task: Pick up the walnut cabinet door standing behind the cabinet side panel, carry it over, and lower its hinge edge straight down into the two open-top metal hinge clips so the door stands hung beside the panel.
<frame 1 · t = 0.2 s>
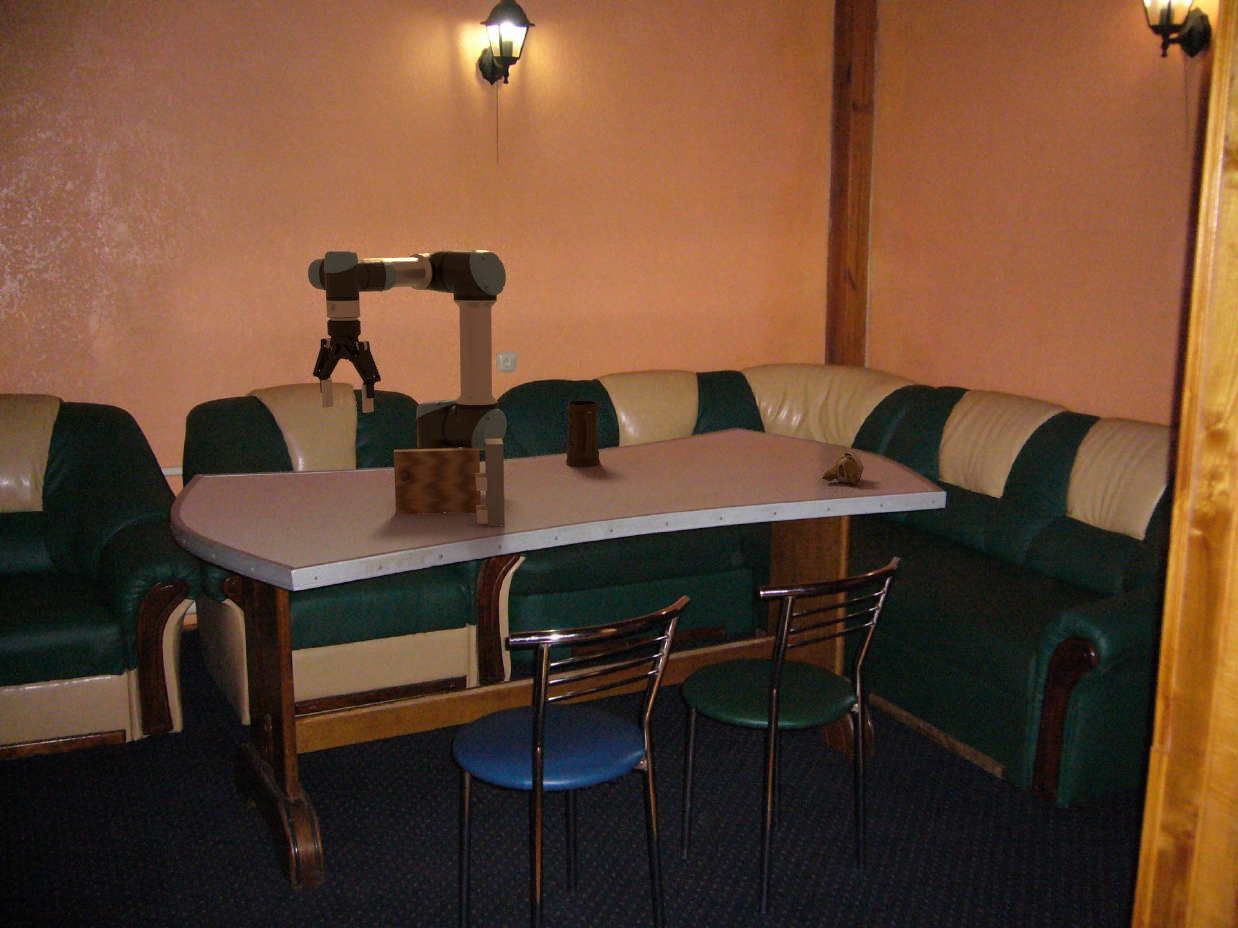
hand: (347, 409, 252), 28 cm above the table, fingers open, 13 cm apart
beer stein: (585, 465, 330), on the table
ceramic sculpture: (845, 482, 309), on the table
door: (438, 512, 270), on the table
cabinet side: (438, 525, 256), on the table
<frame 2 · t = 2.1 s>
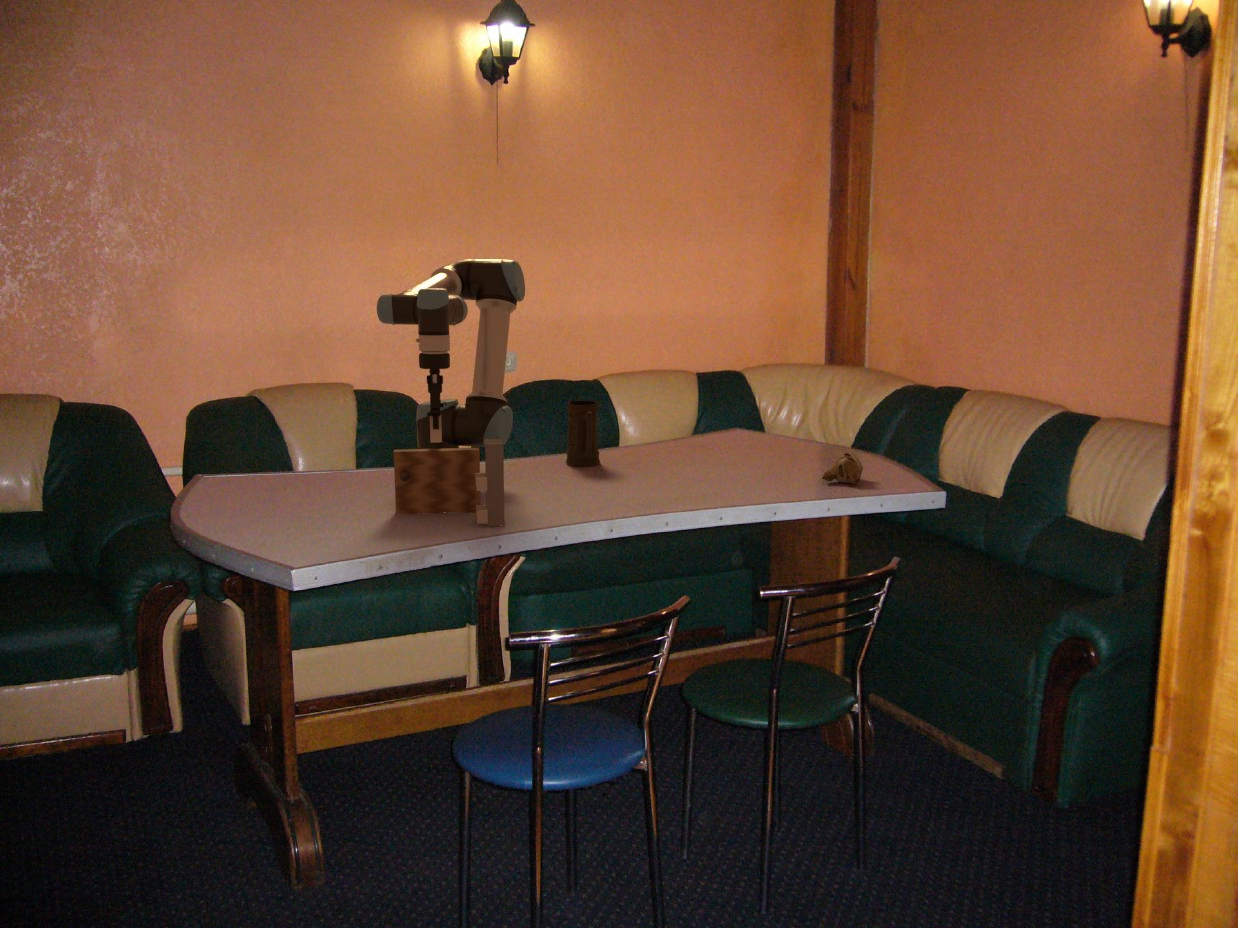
hand: (436, 437, 266), 19 cm above the table, fingers open, 13 cm apart
nothing on the table moved.
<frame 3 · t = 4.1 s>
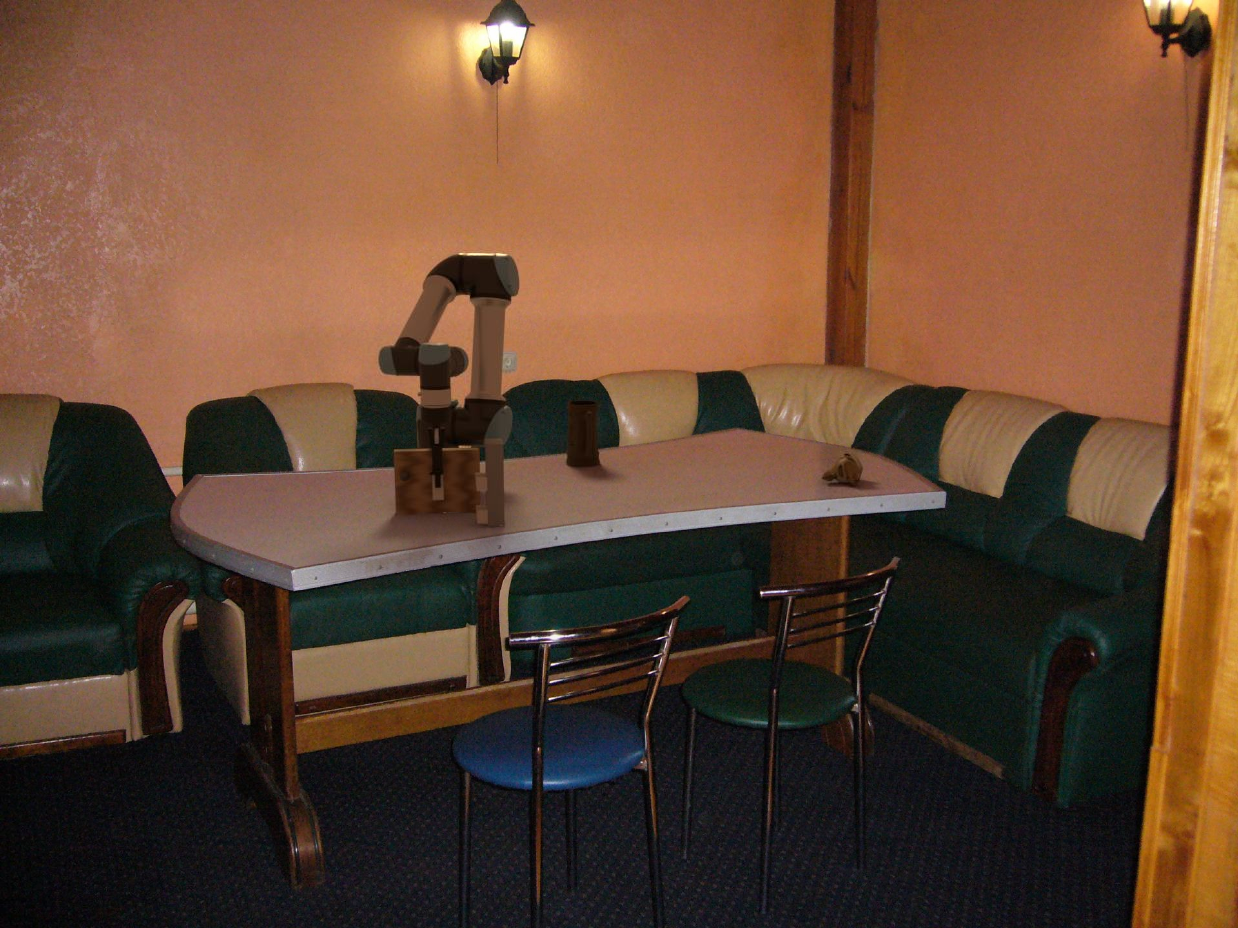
hand: (438, 497, 269), 4 cm above the table, fingers closed on door, 3 cm apart
door: (438, 511, 270), on the table, touching gripper
everything else where it was.
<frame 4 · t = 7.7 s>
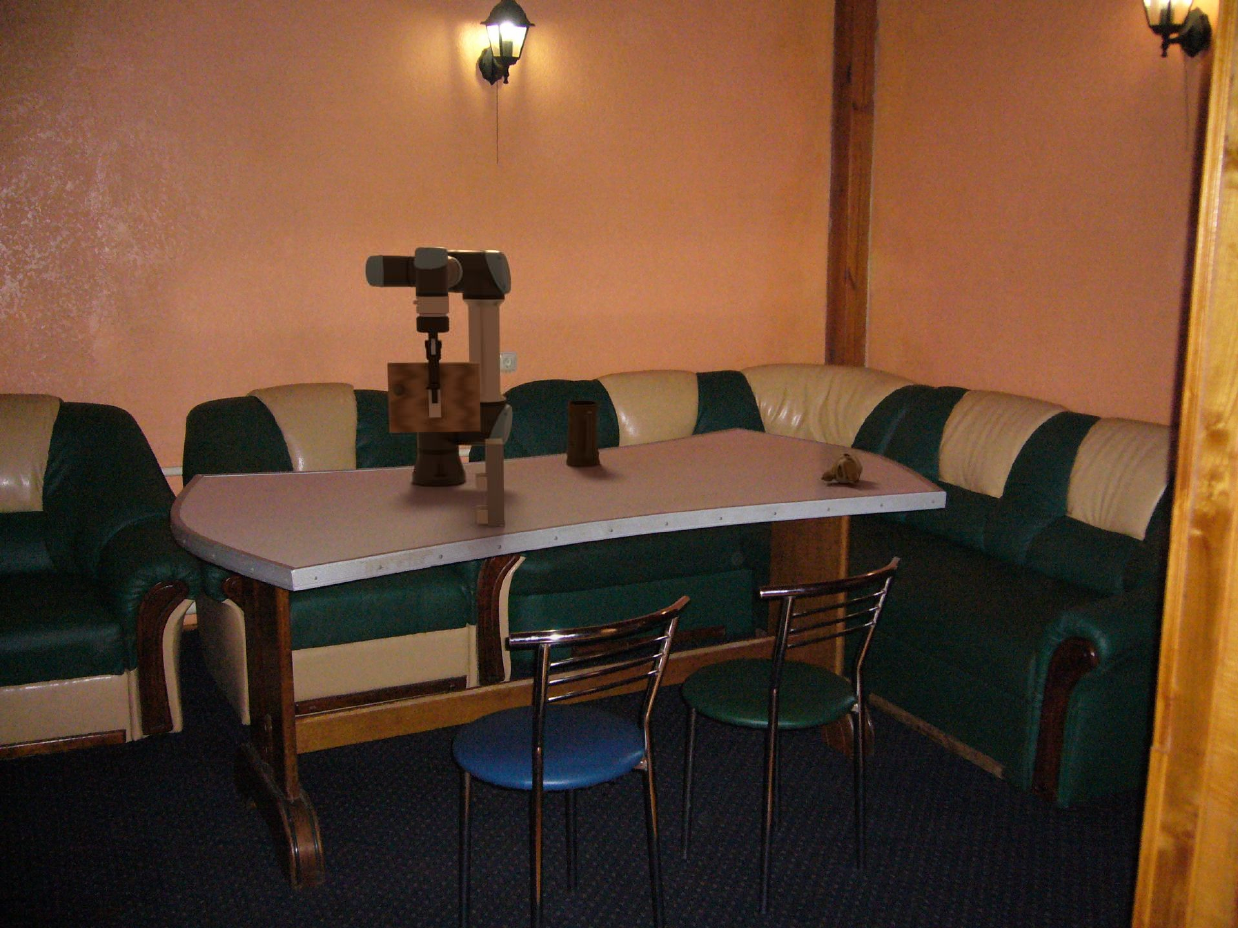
hand: (435, 415, 251), 27 cm above the table, fingers closed on door, 3 cm apart
door: (435, 430, 252), point 23 cm above the table, touching gripper
everything else where it was.
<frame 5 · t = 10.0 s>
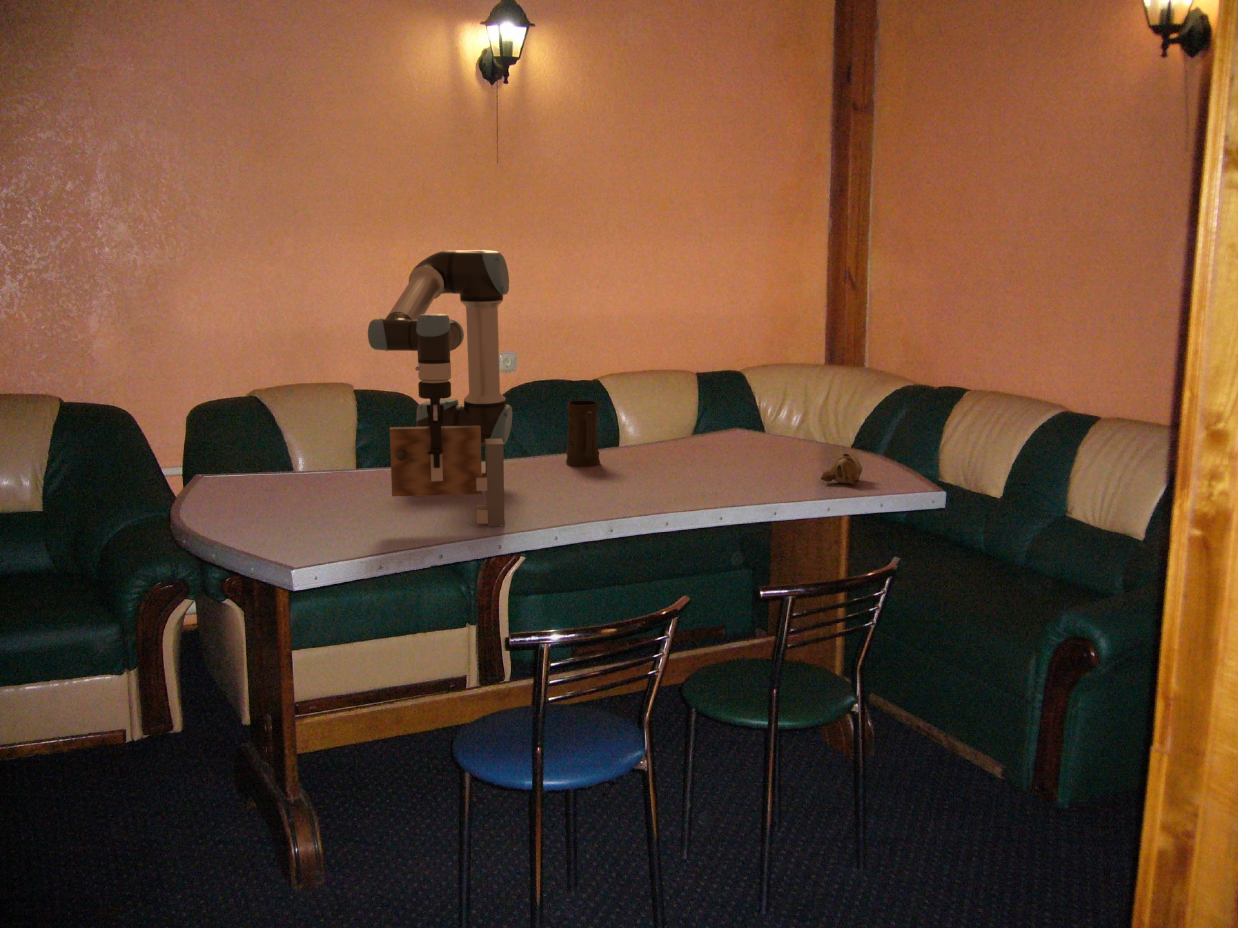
hand: (437, 478, 254), 12 cm above the table, fingers closed on door, 3 cm apart
door: (437, 493, 255), point 8 cm above the table, touching gripper
when the fingers open (5 cm above the table, at t = 11.6 s): door drops 1 cm, on the table.
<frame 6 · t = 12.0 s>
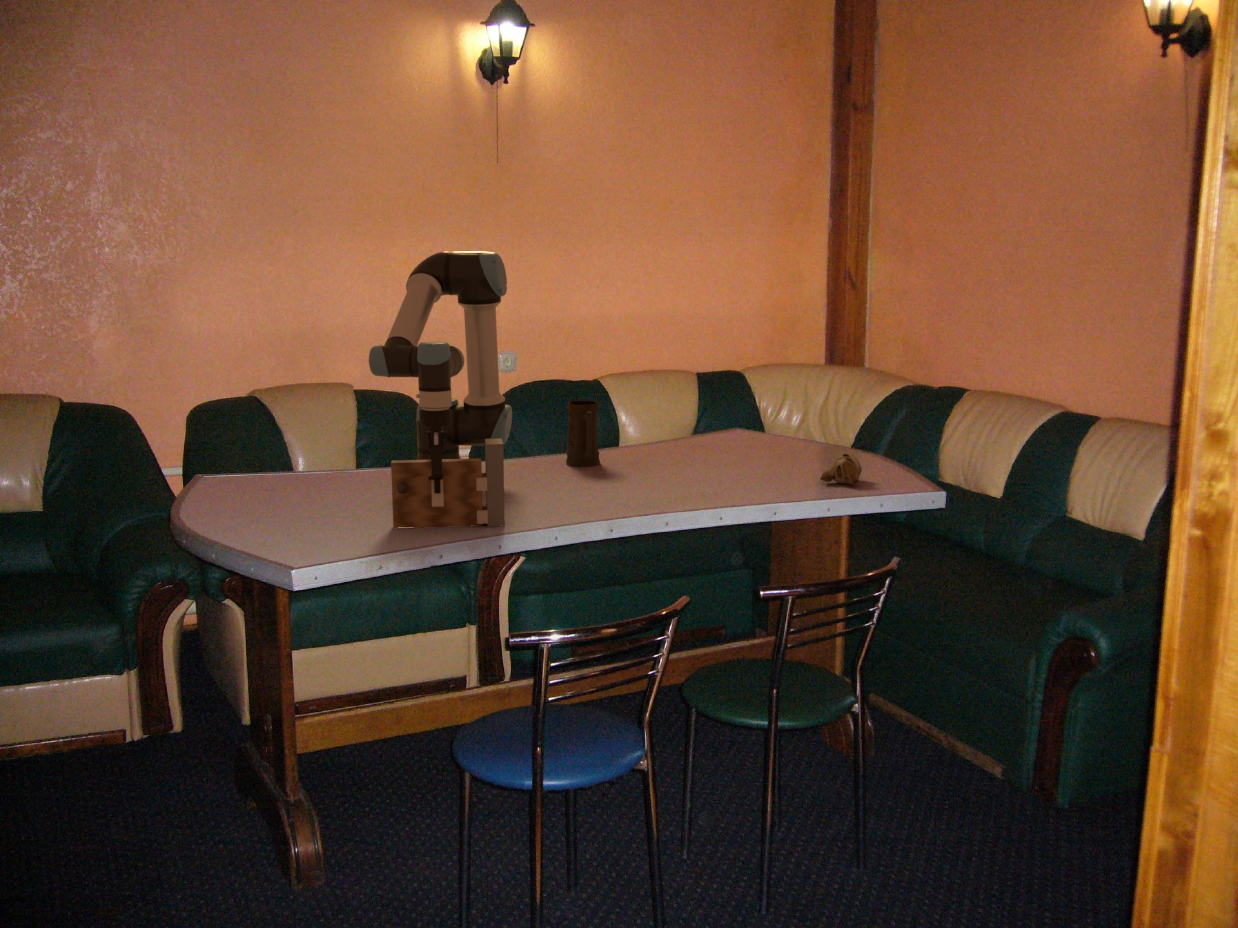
hand: (437, 501, 255), 6 cm above the table, fingers open, 9 cm apart
door: (438, 526, 256), on the table
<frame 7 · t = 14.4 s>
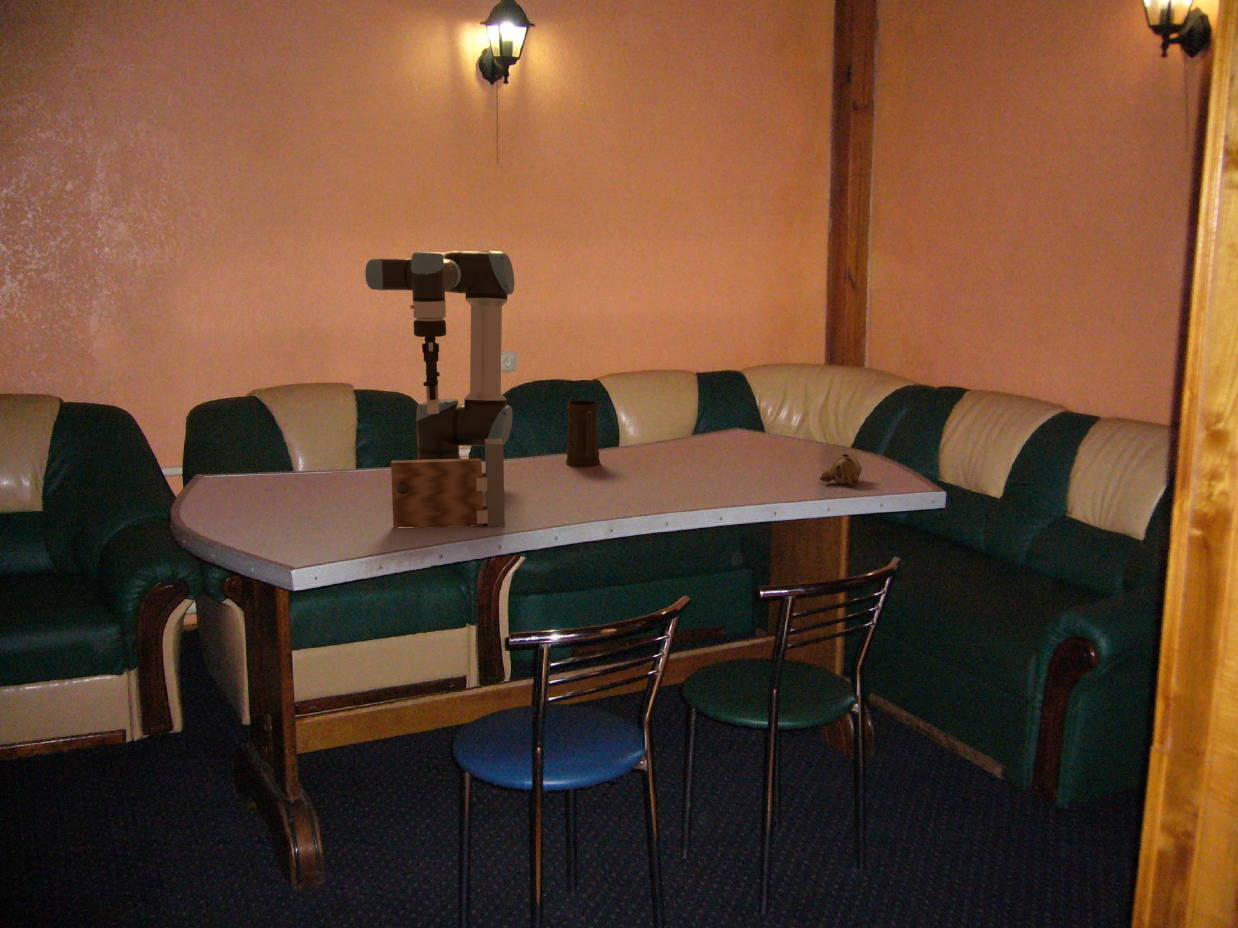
hand: (432, 408, 256), 28 cm above the table, fingers open, 13 cm apart
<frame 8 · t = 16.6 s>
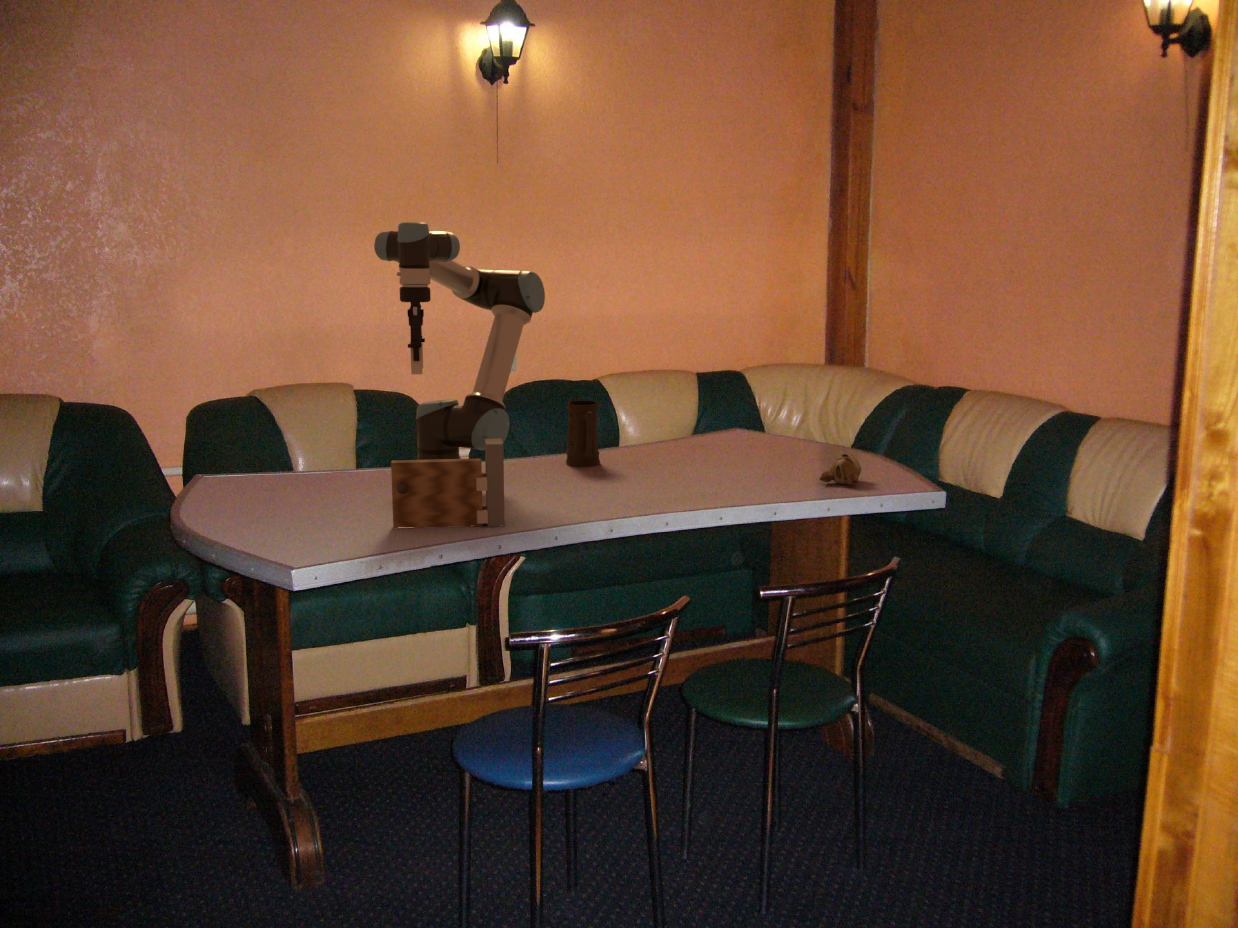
hand: (417, 371, 270), 35 cm above the table, fingers open, 13 cm apart
at the end: door 0.1 cm off-centre on the cabinet side, point 0.0 cm above the cabinet side's base; door tilted 0°; the gripper is holding nothing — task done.
